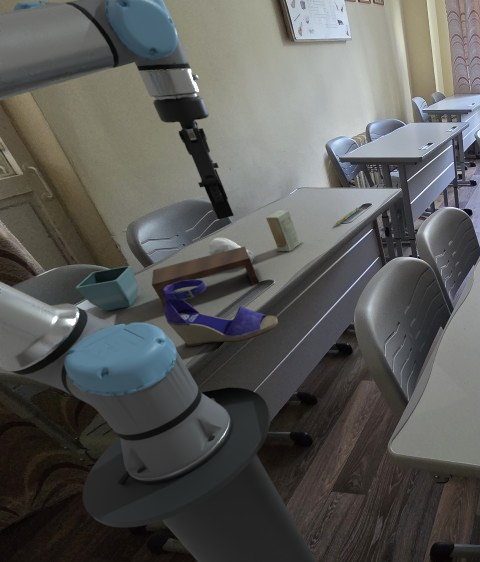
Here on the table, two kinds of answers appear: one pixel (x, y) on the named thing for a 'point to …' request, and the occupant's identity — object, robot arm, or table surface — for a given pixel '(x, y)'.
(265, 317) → the sandal
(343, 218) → the pencil
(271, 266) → the table surface
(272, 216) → the cosmetic box
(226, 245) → the white rounded piece
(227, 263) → the shoe shelf
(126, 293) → the flower pot
